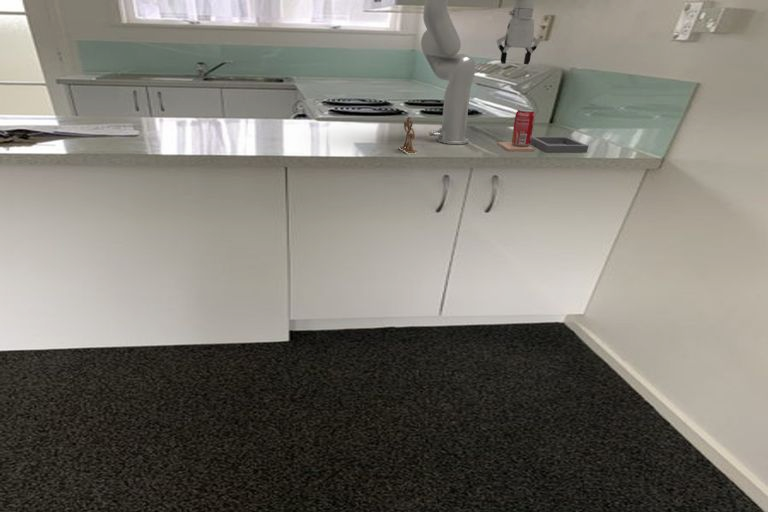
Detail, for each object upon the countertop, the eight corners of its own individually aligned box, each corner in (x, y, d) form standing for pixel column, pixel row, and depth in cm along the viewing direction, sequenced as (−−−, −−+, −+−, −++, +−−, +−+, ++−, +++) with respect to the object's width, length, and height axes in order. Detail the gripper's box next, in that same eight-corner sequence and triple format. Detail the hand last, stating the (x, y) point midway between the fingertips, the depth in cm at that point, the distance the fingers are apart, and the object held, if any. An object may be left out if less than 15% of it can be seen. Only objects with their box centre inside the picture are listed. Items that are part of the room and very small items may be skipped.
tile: (507, 150, 156) (508, 148, 156) (497, 144, 166) (497, 142, 165) (533, 150, 157) (533, 148, 157) (521, 144, 167) (521, 142, 167)
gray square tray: (546, 152, 156) (547, 145, 154) (528, 142, 170) (529, 136, 169) (586, 152, 157) (588, 145, 156) (565, 142, 172) (567, 136, 170)
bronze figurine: (418, 154, 148) (420, 119, 142) (408, 155, 147) (410, 119, 141) (407, 148, 155) (409, 115, 150) (398, 149, 154) (399, 115, 148)
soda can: (532, 147, 159) (539, 111, 153) (513, 146, 159) (519, 111, 153) (526, 143, 165) (533, 108, 159) (508, 142, 165) (514, 108, 159)
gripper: (504, 13, 157) (497, 63, 164) (548, 15, 159) (539, 64, 166) (497, 14, 163) (490, 62, 171) (539, 16, 165) (531, 63, 173)
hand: (514, 63), depth 169 cm, fingers open, 9 cm apart
